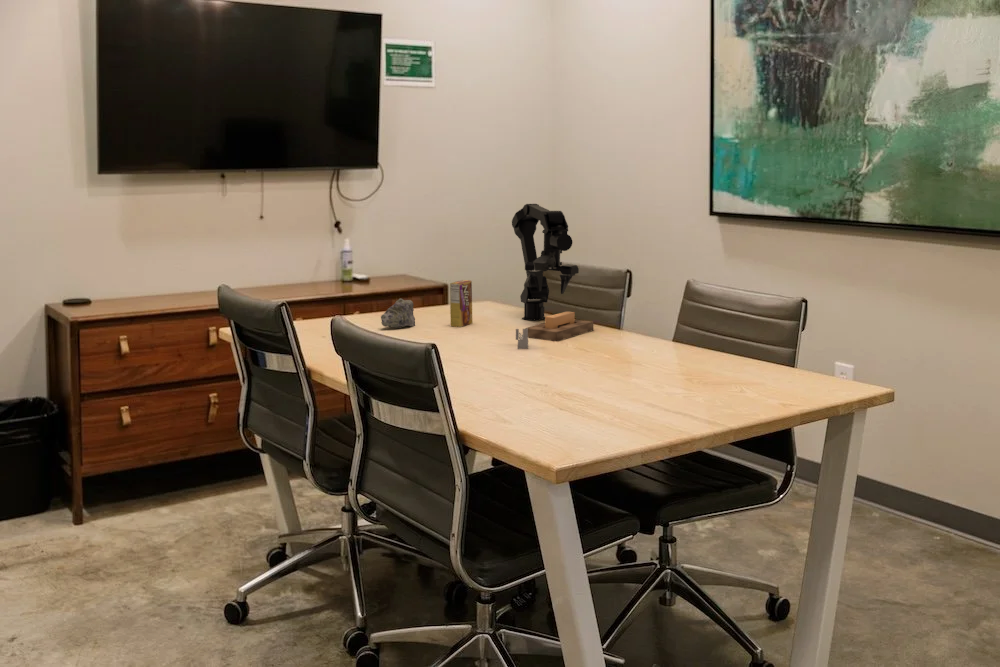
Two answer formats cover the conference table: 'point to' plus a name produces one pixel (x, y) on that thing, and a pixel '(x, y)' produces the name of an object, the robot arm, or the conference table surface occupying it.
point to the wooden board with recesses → (560, 330)
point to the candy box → (461, 303)
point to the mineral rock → (399, 315)
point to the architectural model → (522, 339)
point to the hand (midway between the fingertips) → (550, 292)
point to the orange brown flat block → (559, 319)
